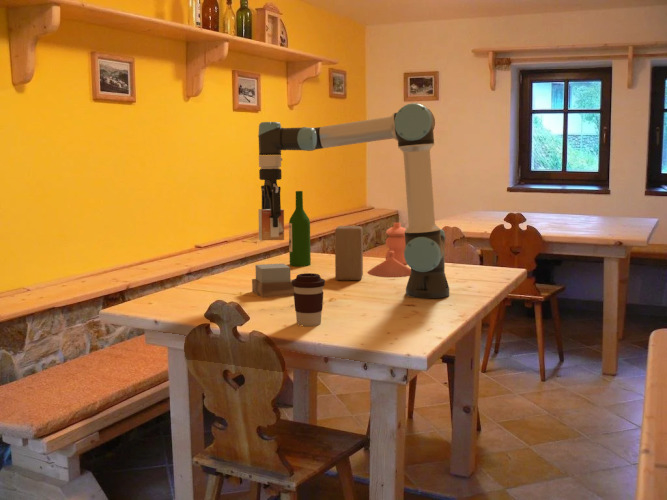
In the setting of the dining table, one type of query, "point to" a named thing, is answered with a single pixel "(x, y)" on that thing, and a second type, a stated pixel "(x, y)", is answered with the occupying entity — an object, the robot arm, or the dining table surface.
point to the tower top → (272, 273)
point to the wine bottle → (299, 235)
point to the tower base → (272, 289)
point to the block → (348, 253)
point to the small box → (265, 225)
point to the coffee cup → (308, 298)
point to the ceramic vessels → (393, 255)
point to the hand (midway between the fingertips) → (271, 235)
